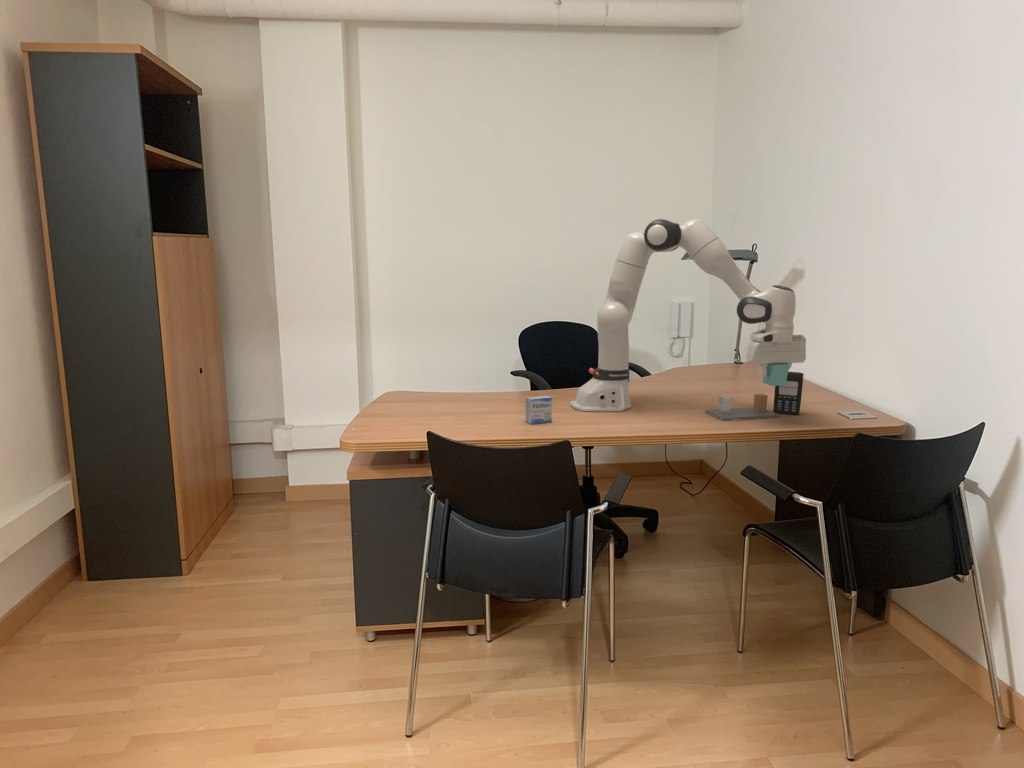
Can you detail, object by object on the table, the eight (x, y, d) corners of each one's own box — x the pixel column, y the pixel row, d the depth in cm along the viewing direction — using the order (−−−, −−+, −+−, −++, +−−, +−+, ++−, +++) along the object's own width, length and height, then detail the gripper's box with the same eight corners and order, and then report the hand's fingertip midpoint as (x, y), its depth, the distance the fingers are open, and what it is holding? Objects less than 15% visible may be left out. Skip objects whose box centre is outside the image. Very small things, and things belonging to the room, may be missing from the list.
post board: (722, 420, 247) (723, 400, 245) (705, 412, 258) (706, 393, 256) (779, 417, 252) (781, 398, 250) (760, 409, 263) (761, 390, 262)
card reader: (772, 413, 258) (775, 372, 255) (773, 410, 261) (776, 370, 258) (799, 415, 254) (803, 374, 251) (800, 413, 258) (803, 372, 255)
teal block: (771, 385, 238) (773, 364, 237) (762, 382, 243) (764, 362, 242) (786, 385, 240) (788, 364, 238) (776, 382, 245) (778, 361, 243)
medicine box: (530, 424, 240) (531, 399, 238) (525, 421, 244) (525, 396, 242) (551, 422, 243) (552, 397, 242) (546, 419, 247) (546, 394, 246)
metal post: (722, 414, 251) (723, 397, 250) (717, 412, 254) (718, 395, 253) (730, 414, 252) (731, 397, 251) (725, 411, 255) (727, 395, 254)
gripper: (800, 333, 243) (796, 373, 246) (746, 334, 239) (742, 375, 242) (812, 335, 237) (808, 377, 240) (756, 337, 233) (753, 379, 236)
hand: (774, 376), depth 241 cm, fingers closed on teal block, 5 cm apart
